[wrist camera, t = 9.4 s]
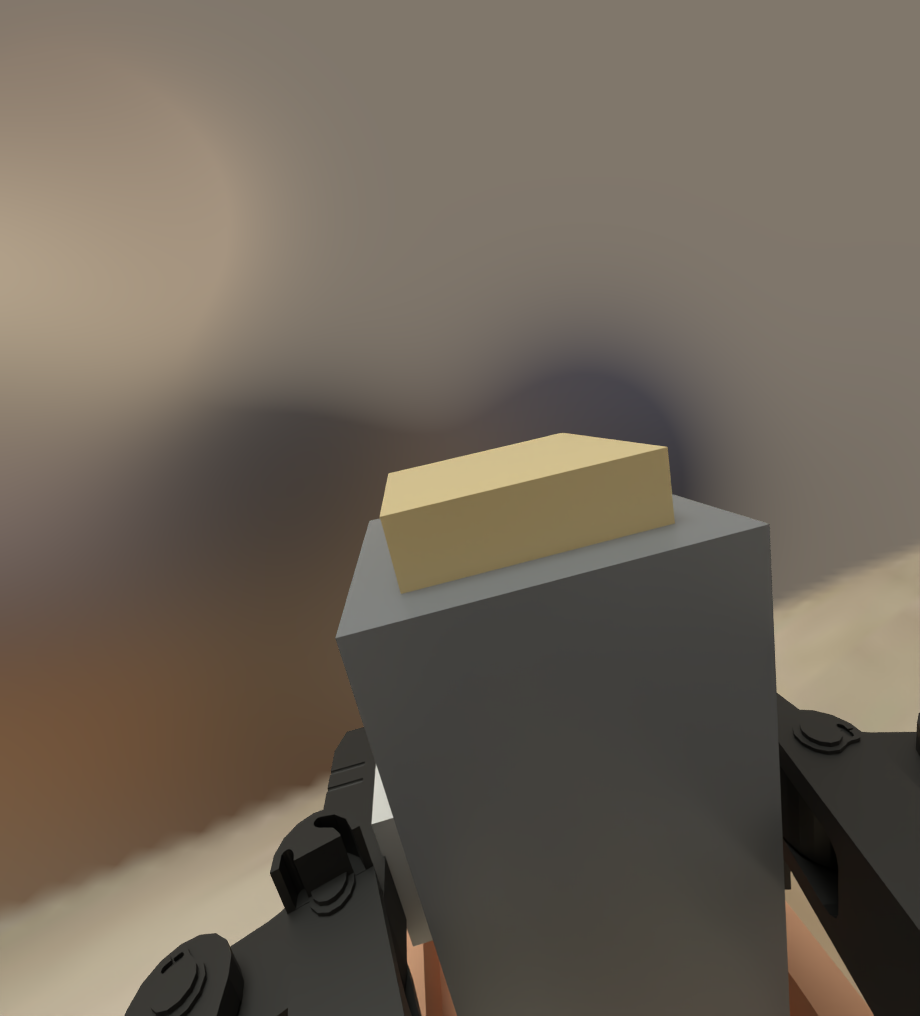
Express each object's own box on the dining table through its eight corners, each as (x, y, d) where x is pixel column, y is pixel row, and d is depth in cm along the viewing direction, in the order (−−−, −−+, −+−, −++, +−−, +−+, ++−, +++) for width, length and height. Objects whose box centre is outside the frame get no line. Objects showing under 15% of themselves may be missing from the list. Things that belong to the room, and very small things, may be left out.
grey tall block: (532, 1247, 7) (307, 550, 4) (480, 917, 12) (357, 476, 9) (795, 1144, 8) (765, 438, 5) (644, 865, 13) (580, 424, 10)
